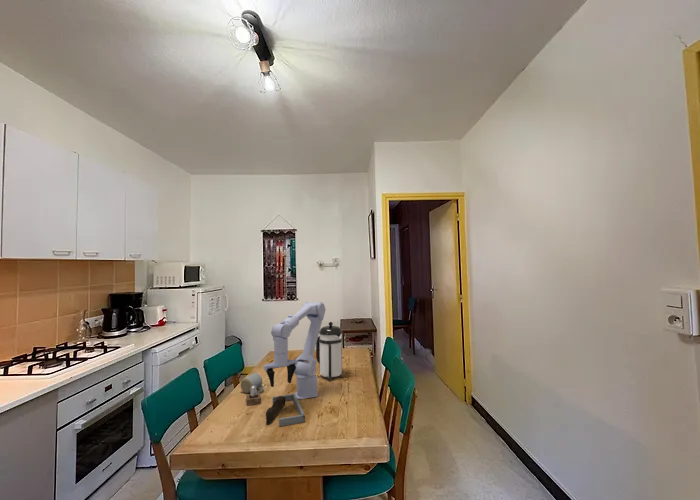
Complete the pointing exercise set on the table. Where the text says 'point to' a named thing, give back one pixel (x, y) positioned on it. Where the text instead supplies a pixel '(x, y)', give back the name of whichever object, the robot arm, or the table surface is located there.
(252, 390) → the rod
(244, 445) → the table surface
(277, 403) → the hand tool
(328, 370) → the coffee press
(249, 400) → the hollow square frame
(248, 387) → the ceramic mug
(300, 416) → the u-shaped frame
